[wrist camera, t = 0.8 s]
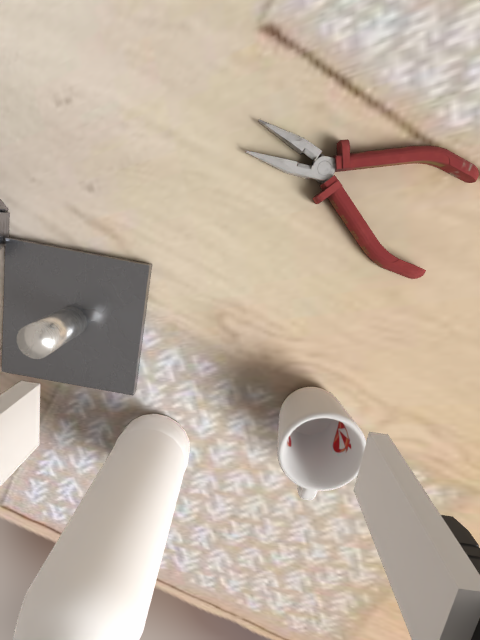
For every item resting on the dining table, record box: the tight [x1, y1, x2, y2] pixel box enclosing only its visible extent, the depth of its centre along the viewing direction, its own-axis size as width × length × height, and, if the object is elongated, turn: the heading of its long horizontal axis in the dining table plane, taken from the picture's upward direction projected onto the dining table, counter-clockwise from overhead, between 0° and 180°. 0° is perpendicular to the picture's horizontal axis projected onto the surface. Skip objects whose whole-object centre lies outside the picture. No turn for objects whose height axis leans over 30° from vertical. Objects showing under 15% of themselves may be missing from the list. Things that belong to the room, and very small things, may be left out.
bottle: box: [13, 414, 190, 640], centre depth 28 cm, size 8×8×30 cm
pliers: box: [245, 120, 479, 279], centre depth 35 cm, size 12×20×3 cm, turn 67°
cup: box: [277, 387, 366, 500], centre depth 38 cm, size 11×8×8 cm
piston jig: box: [2, 238, 152, 395], centre depth 35 cm, size 14×14×8 cm
